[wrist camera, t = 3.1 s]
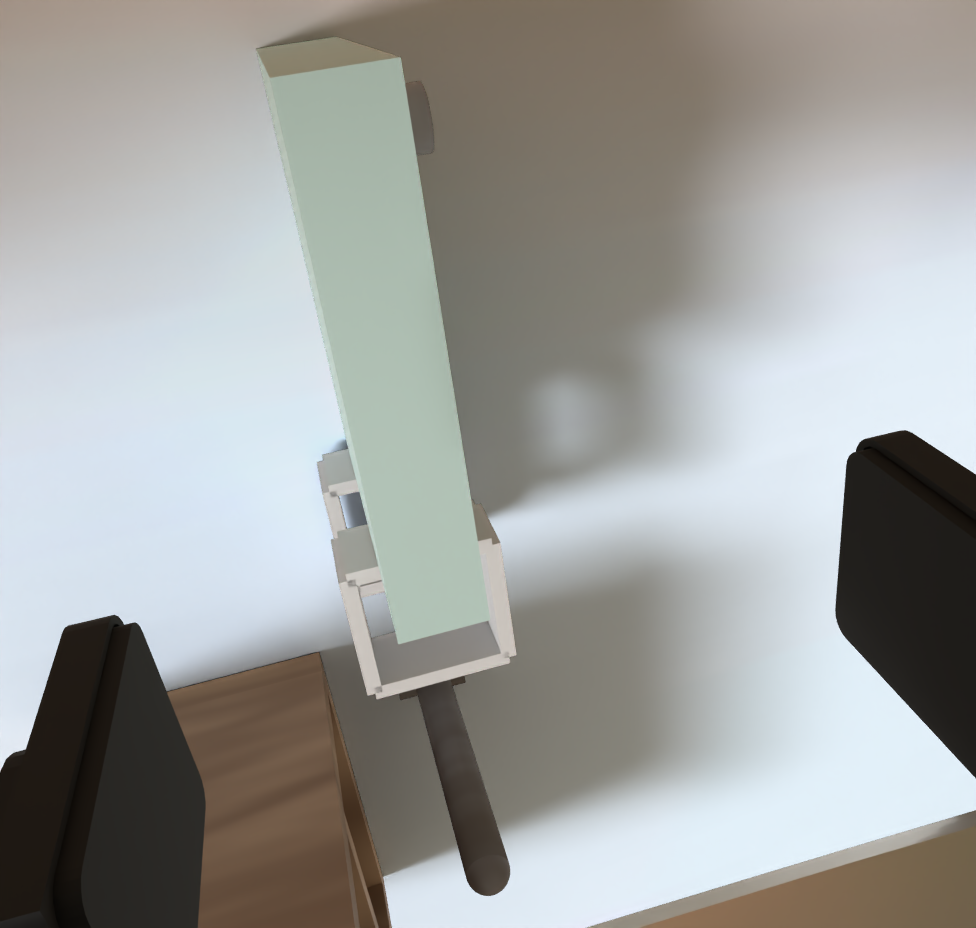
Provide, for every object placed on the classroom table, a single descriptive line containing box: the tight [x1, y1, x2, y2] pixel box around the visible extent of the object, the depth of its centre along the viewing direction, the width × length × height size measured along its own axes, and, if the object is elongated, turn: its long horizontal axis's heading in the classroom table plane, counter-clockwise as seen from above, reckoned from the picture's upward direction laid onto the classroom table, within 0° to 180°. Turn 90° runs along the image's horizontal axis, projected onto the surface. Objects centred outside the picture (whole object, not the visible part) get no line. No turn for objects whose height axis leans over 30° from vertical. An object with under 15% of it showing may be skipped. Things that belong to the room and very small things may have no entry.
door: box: [256, 37, 516, 699], centre depth 21 cm, size 15×4×10 cm, turn 8°
